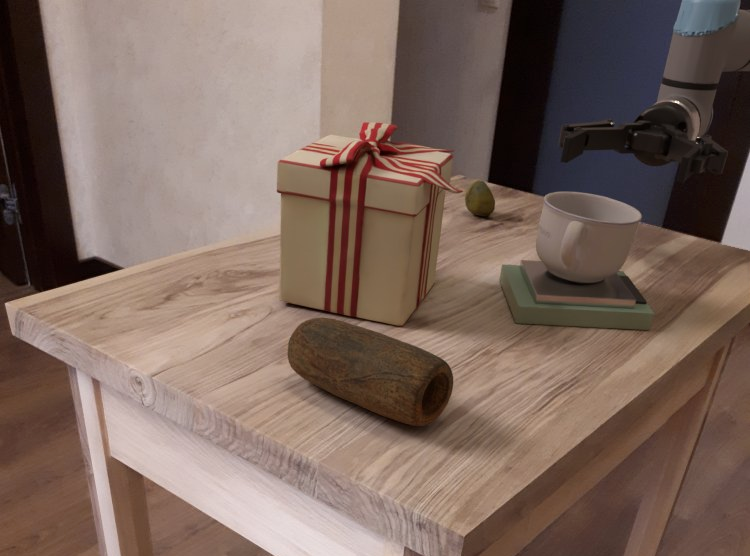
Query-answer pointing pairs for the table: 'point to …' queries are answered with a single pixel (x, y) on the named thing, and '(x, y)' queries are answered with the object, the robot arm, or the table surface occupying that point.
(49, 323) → the table surface
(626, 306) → the pan
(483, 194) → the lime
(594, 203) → the teacup
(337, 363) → the wooden vase
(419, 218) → the gift box
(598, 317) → the scale
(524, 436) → the table surface
